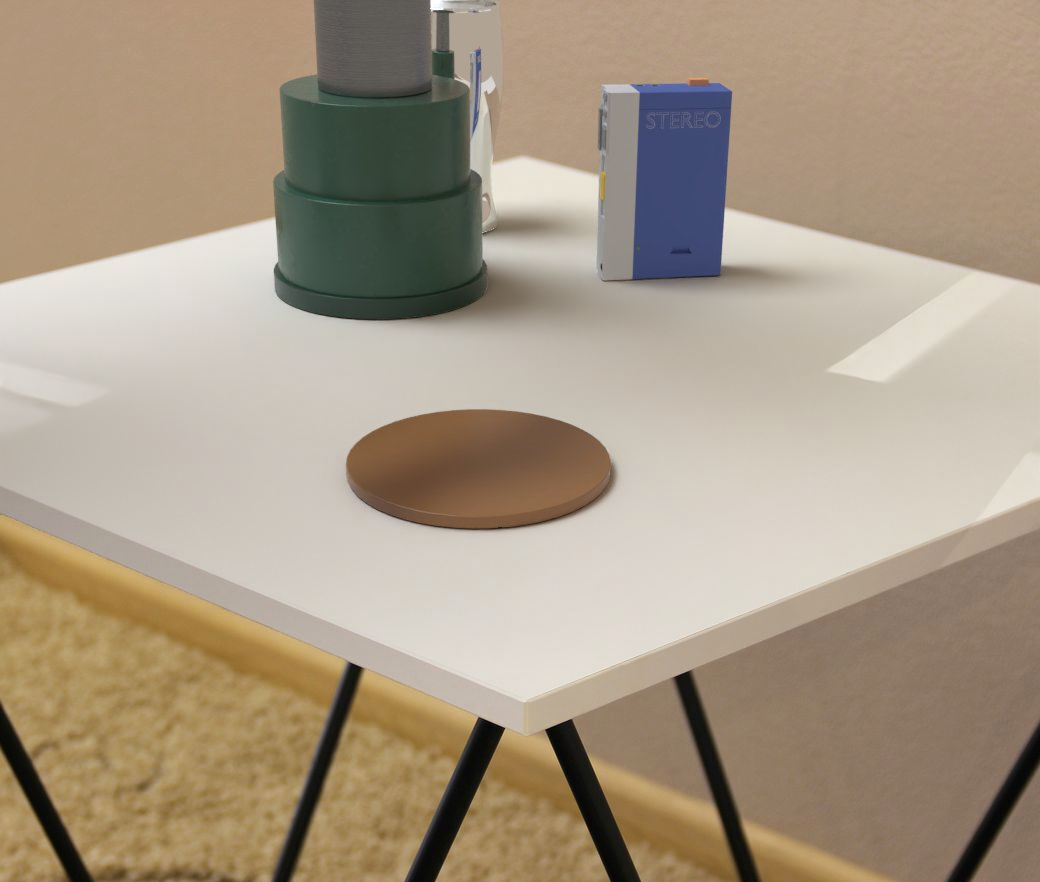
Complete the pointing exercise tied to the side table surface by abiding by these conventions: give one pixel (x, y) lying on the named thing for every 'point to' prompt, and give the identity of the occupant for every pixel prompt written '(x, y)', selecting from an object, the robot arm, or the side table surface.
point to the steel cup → (373, 47)
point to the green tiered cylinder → (378, 203)
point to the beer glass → (473, 76)
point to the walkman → (662, 179)
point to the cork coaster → (478, 468)
